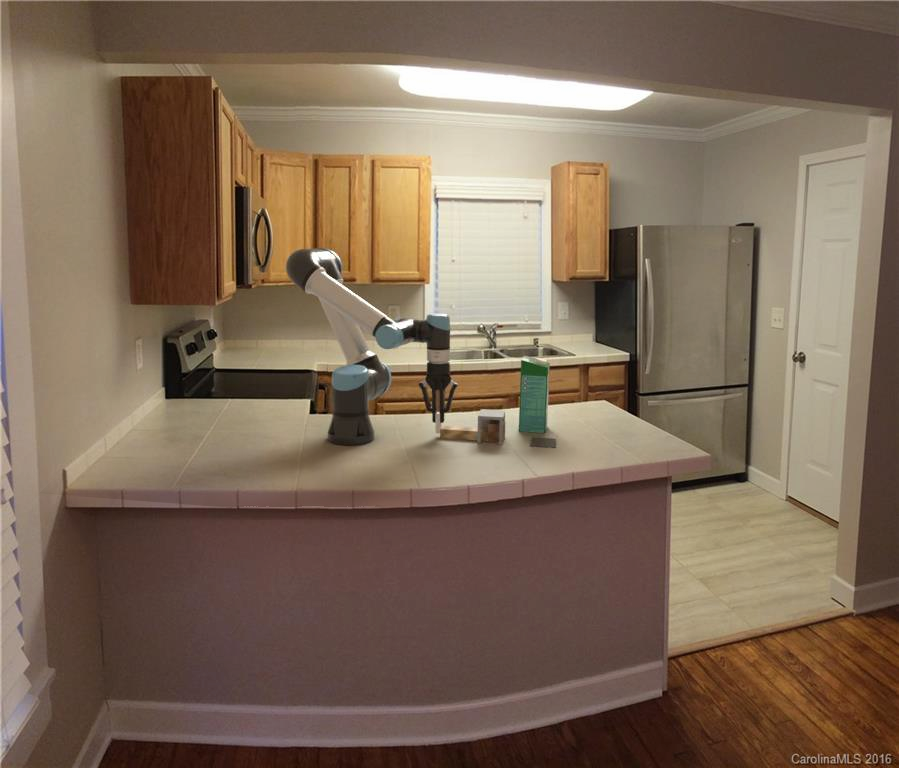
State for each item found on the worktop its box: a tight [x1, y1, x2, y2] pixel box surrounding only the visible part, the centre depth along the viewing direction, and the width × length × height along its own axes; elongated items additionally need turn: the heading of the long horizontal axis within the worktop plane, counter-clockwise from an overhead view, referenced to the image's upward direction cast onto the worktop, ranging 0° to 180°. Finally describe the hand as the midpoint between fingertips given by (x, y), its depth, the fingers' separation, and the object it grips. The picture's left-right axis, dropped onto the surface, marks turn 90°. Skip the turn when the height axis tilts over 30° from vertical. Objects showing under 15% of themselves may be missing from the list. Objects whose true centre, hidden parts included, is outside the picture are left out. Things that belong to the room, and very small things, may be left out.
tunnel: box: [476, 408, 506, 445], centre depth 234 cm, size 8×9×9 cm
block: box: [487, 420, 506, 444], centre depth 234 cm, size 5×5×6 cm
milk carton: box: [518, 354, 551, 434], centre depth 246 cm, size 9×9×25 cm
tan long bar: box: [439, 425, 488, 442], centre depth 237 cm, size 16×4×3 cm, turn 79°
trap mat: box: [529, 436, 557, 449], centre depth 232 cm, size 8×10×1 cm
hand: (438, 431), depth 237 cm, fingers closed
